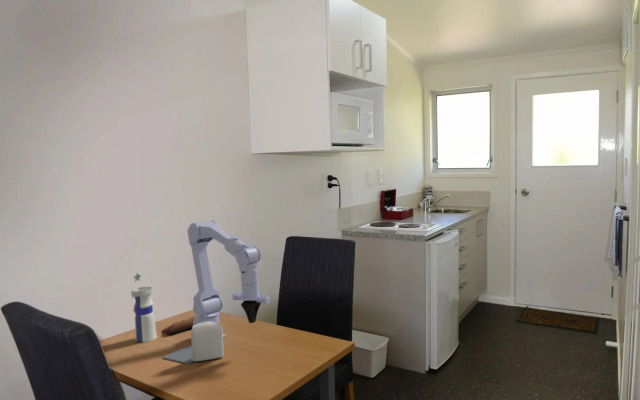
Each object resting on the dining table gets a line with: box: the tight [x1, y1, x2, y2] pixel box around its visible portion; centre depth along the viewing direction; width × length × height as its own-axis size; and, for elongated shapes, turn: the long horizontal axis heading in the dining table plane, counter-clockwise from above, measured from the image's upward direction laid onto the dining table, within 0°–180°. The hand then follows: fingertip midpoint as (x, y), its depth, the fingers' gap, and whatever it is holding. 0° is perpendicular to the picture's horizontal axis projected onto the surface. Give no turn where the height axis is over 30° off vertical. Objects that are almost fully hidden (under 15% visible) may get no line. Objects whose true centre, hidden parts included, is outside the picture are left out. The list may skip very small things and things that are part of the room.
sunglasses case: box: [160, 316, 195, 337], centre depth 191 cm, size 18×7×7 cm, turn 135°
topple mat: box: [162, 344, 196, 365], centre depth 162 cm, size 12×12×1 cm
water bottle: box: [130, 272, 158, 343], centre depth 180 cm, size 8×8×25 cm
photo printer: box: [190, 321, 224, 362], centre depth 157 cm, size 10×4×12 cm, turn 110°
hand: (252, 322), depth 161 cm, fingers closed
